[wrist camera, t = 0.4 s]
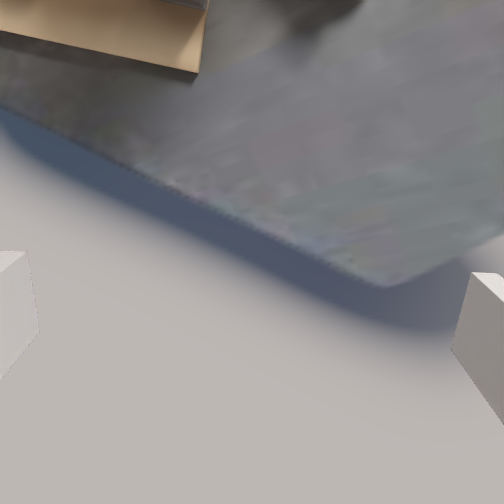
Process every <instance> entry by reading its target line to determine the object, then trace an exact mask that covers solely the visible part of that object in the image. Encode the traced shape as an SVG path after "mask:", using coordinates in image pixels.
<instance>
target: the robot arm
mask: <svg viewBox="0 0 504 504" xmlns="http://www.w3.org/2000/svg"><path fill="white" fill-rule="evenodd" d="M39 332H40V329H39V322H38V317H37V310H36V304H35V298H34V292H33V286H32V281H31V273H30V267H29V262H28V255H27V252H26V251H5V250H1V251H0V380H1V379H2V378H3V376H4V375H5V374H6V373H7V371H8V370H9V369H10V368H11V367H12V365H13V364H14V363H15V362H16V360H17V359H18V358H19V357H20V355H21V354H22V353H23V352H24V351H25V349H26V348H27V347H28V346H29V345H30V343H31V342H32V341H33V340H34V338H35V337H36V336H37V335H38V333H39ZM451 351H452V352H453V354H454V355H455V356H456V358H457V359H458V361H459V362H460V364H461V365H462V366H463V368H464V369H465V371H466V372H467V374H468V375H469V376H470V378H471V379H472V381H473V382H474V384H475V385H476V386H477V388H478V389H479V391H480V392H481V393H482V395H483V396H484V398H485V399H486V401H487V402H488V403H489V405H490V406H491V408H492V409H493V410H494V412H495V413H496V415H497V416H498V418H499V419H500V420H501V422H502V423H503V425H504V279H503V278H502V277H501V276H499V275H498V274H496V273H475V272H472V273H471V277H470V280H469V284H468V288H467V291H466V295H465V299H464V302H463V306H462V310H461V313H460V317H459V321H458V324H457V328H456V332H455V336H454V339H453V343H452V346H451Z"/></svg>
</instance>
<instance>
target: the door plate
mask: <svg viewBox="0 0 504 504" xmlns="http://www.w3.org/2000/svg"><path fill="white" fill-rule="evenodd" d="M208 6H209V0H0V30H2V31H7V32H11V33H16V34H21V35H25V36H30V37H34V38H39V39H44V40H48V41H53V42H57V43H62V44H67V45H71V46H76V47H80V48H85V49H90V50H94V51H99V52H104V53H108V54H113V55H117V56H122V57H127V58H131V59H136V60H140V61H145V62H150V63H154V64H159V65H163V66H168V67H173V68H177V69H182V70H186V71H191V72H196V73H199V69H200V62H201V55H202V48H203V41H204V34H205V27H206V20H207V13H208Z"/></svg>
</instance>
